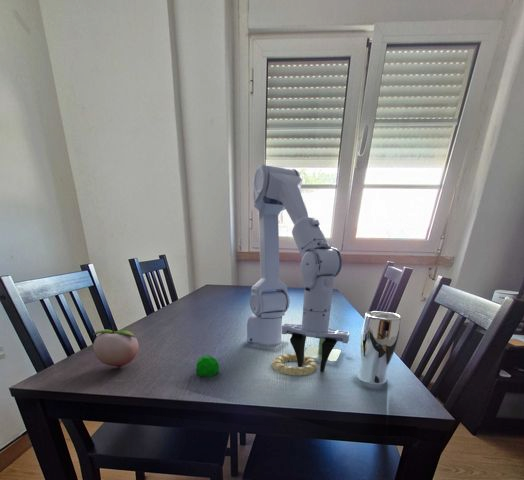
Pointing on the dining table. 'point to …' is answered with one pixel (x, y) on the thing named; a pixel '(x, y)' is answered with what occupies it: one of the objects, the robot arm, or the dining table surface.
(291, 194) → the robot arm
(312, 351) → the post stand
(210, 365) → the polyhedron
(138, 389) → the dining table surface
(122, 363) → the decorative fruit
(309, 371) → the ring
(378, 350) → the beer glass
